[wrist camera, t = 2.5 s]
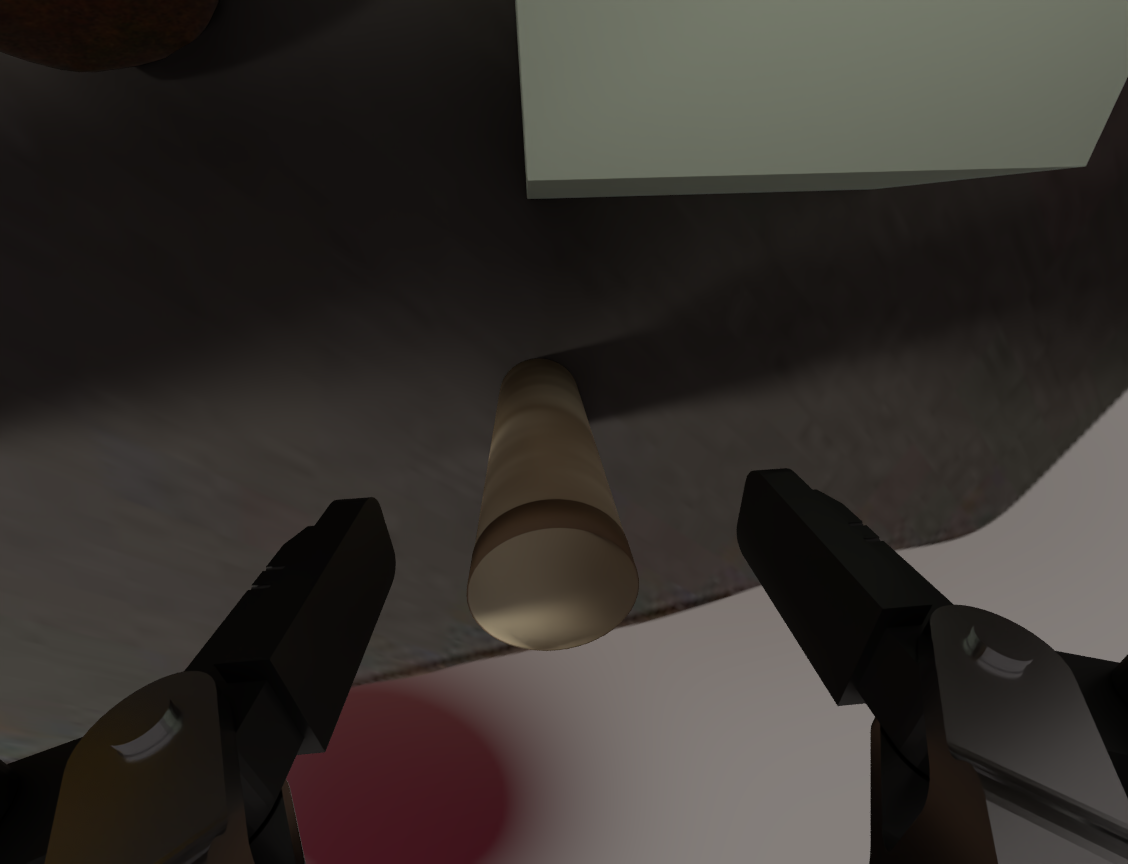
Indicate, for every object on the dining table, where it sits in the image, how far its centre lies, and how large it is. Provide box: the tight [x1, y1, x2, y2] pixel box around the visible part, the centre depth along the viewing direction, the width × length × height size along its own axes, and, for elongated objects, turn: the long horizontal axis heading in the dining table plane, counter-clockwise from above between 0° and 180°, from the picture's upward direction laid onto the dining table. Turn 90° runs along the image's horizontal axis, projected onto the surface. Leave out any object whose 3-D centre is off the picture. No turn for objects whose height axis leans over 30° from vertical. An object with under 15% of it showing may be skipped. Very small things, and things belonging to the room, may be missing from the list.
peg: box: [467, 359, 639, 651], centre depth 12 cm, size 3×3×10 cm
